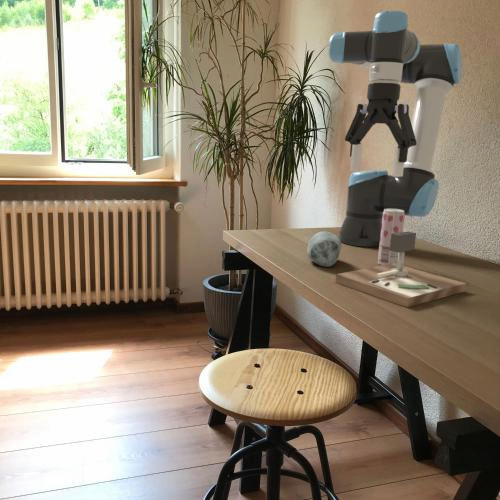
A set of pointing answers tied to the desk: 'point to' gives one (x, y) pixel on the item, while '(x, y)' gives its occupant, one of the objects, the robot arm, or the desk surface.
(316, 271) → the desk surface
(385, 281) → the dial board
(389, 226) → the beverage can
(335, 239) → the pale teal yarn skein
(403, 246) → the grey piece
